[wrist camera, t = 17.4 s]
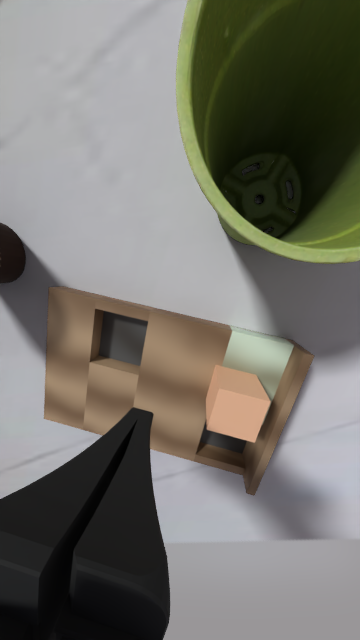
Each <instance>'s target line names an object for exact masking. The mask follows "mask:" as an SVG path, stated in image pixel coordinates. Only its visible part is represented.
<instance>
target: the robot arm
mask: <svg viewBox="0 0 360 640" xmlns="http://www.w3.org/2000/svg"><path fill="white" fill-rule="evenodd" d="M153 416H154V414H153V412H149V411H146V410H142V409H138V408H135V407H133V408H131V409H130V410H129V411H128V412H127V414H126V415H125V416H124V417H123V418H122V419H121V420H120V421H119V422H118V423H117V424H115V425H114V426H113V427H112V428H111V429H110V430H109V431H108V432H107V433H106V434H104V435H103V436H102V437H101V438H100V439H98V440H97V441H96V442H95V443H93V444H92V445H91V446H90V447H88V448H87V449H86V450H84V451H83V452H81V453H80V454H79V455H77V456H76V457H74V458H73V459H71V460H70V461H68V462H67V463H65V464H64V465H62V466H61V467H59V468H58V469H56V470H54V471H53V472H51V473H49V474H47V475H46V476H44V477H42V478H40V479H39V480H37V481H35V482H33V483H31V484H30V485H28V486H26V487H24V488H22V489H20V490H18V491H16V492H14V493H12V494H10V495H8V496H6V497H4V498H2V499H0V640H163V638H164V635H165V632H166V629H167V626H168V623H169V617H170V588H169V575H168V563H167V555H166V551H165V547H164V543H163V539H162V534H161V530H160V525H159V521H158V516H157V510H156V504H155V498H154V492H153V484H152V475H151V463H150V432H151V426H152V421H153Z"/></svg>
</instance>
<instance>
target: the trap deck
mask: <svg viewBox="0 0 360 640" xmlns="http://www.w3.org/2000/svg"><path fill="white" fill-rule="evenodd" d="M313 358H314V355H313V354H311V353H310V352H308V351H307V350H306V349H304V348H303V347H301V346H300V345H298V344H297V343H296V342H294V341H293V340H289V339H285V338H280V337H276V336H272V335H268V334H263V333H259V332H255V331H251V330H246V329H242V328H238V327H234V326H229V325H225V324H221V323H217V322H212V321H208V320H204V319H200V318H195V317H191V316H187V315H183V314H178V313H174V312H170V311H166V310H161V309H157V308H153V307H149V306H144V305H140V304H136V303H132V302H127V301H123V300H119V299H115V298H110V297H106V296H102V295H98V294H93V293H89V292H85V291H81V290H76V289H72V288H68V287H64V286H62V287H49V293H48V321H47V349H46V377H45V405H44V419H47V420H51V421H54V422H58V423H61V424H65V425H68V426H72V427H75V428H79V429H82V430H86V431H89V432H93V433H96V434H100V435H104V434H106V433H107V432H108V431H109V430H110V429H111V428H112V427H113V426H114V425H115V424H117V423H118V422H119V421H120V420H121V419H122V418H123V417H124V416H125V415H126V414H127V412H128V411H129V410H130V409H131V408H133V407H135V408H138V409H142V410H146V411H149V412H153V414H154V416H153V421H152V426H151V432H150V449H152V450H156V451H159V452H163V453H166V454H170V455H173V456H177V457H180V458H184V459H187V460H191V461H194V462H198V463H201V464H205V465H208V466H212V467H216V468H219V469H223V470H226V471H230V472H233V473H237V474H240V475H243V478H244V483H245V488H246V493H247V494H251V495H255V493H256V491H257V488H258V486H259V484H260V481H261V479H262V477H263V474H264V472H265V470H266V467H267V465H268V463H269V460H270V458H271V456H272V453H273V451H274V449H275V446H276V444H277V442H278V439H279V437H280V435H281V432H282V430H283V428H284V425H285V423H286V421H287V418H288V416H289V414H290V411H291V409H292V407H293V404H294V402H295V400H296V397H297V395H298V393H299V390H300V388H301V386H302V383H303V381H304V379H305V376H306V374H307V372H308V369H309V367H310V365H311V362H312V360H313ZM215 365H218V366H223V367H227V368H231V369H235V370H239V371H243V372H247V373H251V374H255V375H257V377H258V379H259V381H260V383H261V385H262V386H263V388H264V390H265V392H266V394H267V396H268V397H269V399H270V401H271V402H270V405H269V408H268V410H267V413H266V415H265V418H264V420H263V423H262V425H261V428H260V431H259V433H258V436H257V438H256V441H255V443H254V442H250V441H246V440H243V439H239V438H235V437H232V436H228V435H224V434H221V433H217V432H213V431H210V430H207V423H206V397H207V393H208V390H209V386H210V383H211V379H212V376H213V372H214V369H215Z"/></svg>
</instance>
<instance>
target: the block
mask: <svg viewBox="0 0 360 640" xmlns="http://www.w3.org/2000/svg"><path fill="white" fill-rule="evenodd" d="M270 402H271V401H270V399H269V397H268V396H267V394H266V392H265V390H264V388H263V386H262V385H261V383H260V381H259V379H258V377H257V375H255V374H251V373H247V372H243V371H239V370H235V369H231V368H227V367H223V366H218V365H215V369H214V372H213V376H212V379H211V383H210V386H209V390H208V393H207V397H206V423H207V430H210V431H213V432H217V433H221V434H224V435H228V436H232V437H235V438H239V439H243V440H246V441H250V442H254V443H255V441H256V438H257V436H258V433H259V431H260V428H261V425H262V423H263V420H264V418H265V415H266V413H267V410H268V408H269V405H270Z"/></svg>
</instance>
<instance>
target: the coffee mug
mask: <svg viewBox="0 0 360 640" xmlns="http://www.w3.org/2000/svg"><path fill="white" fill-rule="evenodd" d="M25 260H26V257H25V251H24V247H23V244H22V242H21V240H20V239H19V237H18V236H17V234H16V233H15V232H14V231H13V230H12V229H11V228H9V227H8V226H6V225H4V224H2V223H0V284H1V283H8V282H12V281H14V280H16V279H17V278H19V277H20V275H21V274H22V272H23V270H24V267H25Z"/></svg>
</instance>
